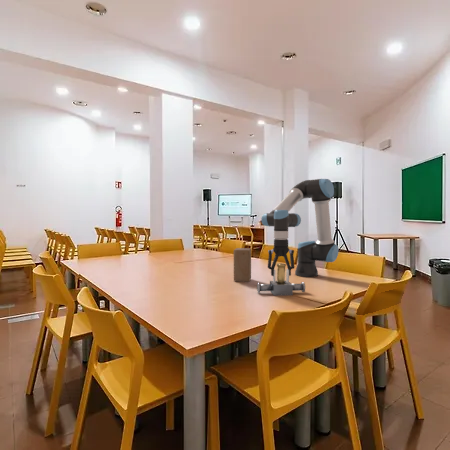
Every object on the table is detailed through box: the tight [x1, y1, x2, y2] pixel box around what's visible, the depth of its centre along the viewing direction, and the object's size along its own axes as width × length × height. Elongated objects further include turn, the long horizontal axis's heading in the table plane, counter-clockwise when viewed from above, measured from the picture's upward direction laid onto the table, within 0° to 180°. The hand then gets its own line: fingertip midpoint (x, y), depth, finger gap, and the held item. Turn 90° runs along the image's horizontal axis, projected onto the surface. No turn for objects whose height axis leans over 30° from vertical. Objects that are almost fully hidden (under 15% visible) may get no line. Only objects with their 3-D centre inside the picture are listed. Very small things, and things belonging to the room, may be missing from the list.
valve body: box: [256, 280, 306, 297], centre depth 165 cm, size 25×10×6 cm, turn 93°
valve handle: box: [276, 262, 287, 284], centre depth 165 cm, size 5×5×14 cm
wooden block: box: [233, 247, 252, 283], centre depth 197 cm, size 10×10×20 cm
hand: (280, 281), depth 165 cm, fingers open, 7 cm apart
